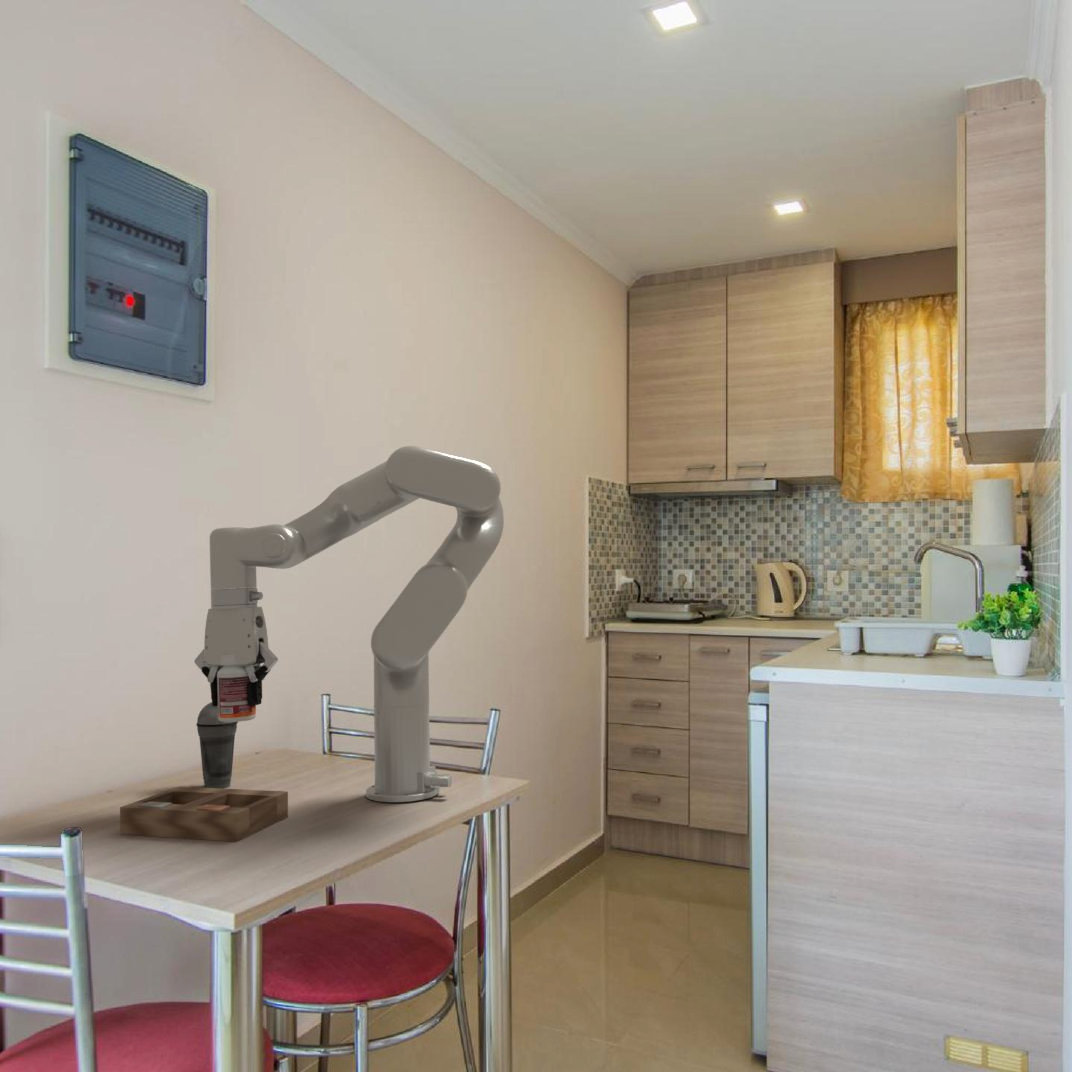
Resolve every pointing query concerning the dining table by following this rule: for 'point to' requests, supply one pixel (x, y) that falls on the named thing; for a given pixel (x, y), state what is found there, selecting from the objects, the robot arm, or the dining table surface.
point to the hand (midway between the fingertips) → (236, 704)
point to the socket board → (204, 813)
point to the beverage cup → (216, 747)
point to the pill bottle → (233, 692)
